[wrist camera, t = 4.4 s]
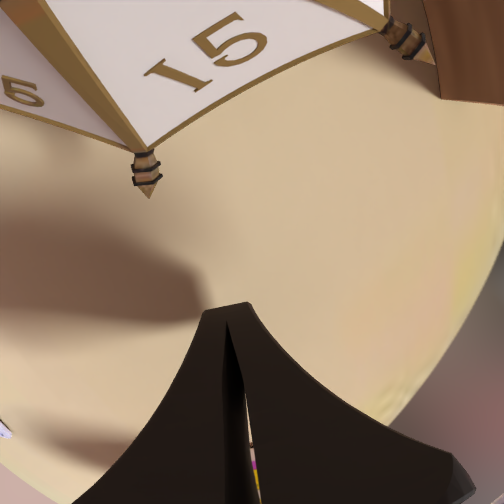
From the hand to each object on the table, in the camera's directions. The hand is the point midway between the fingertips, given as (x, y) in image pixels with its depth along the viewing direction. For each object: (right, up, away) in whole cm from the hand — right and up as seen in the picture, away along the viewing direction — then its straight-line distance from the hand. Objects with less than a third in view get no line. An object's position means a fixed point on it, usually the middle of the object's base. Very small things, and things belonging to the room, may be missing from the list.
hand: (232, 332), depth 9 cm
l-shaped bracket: (+2, +18, -6) cm, 19 cm away
